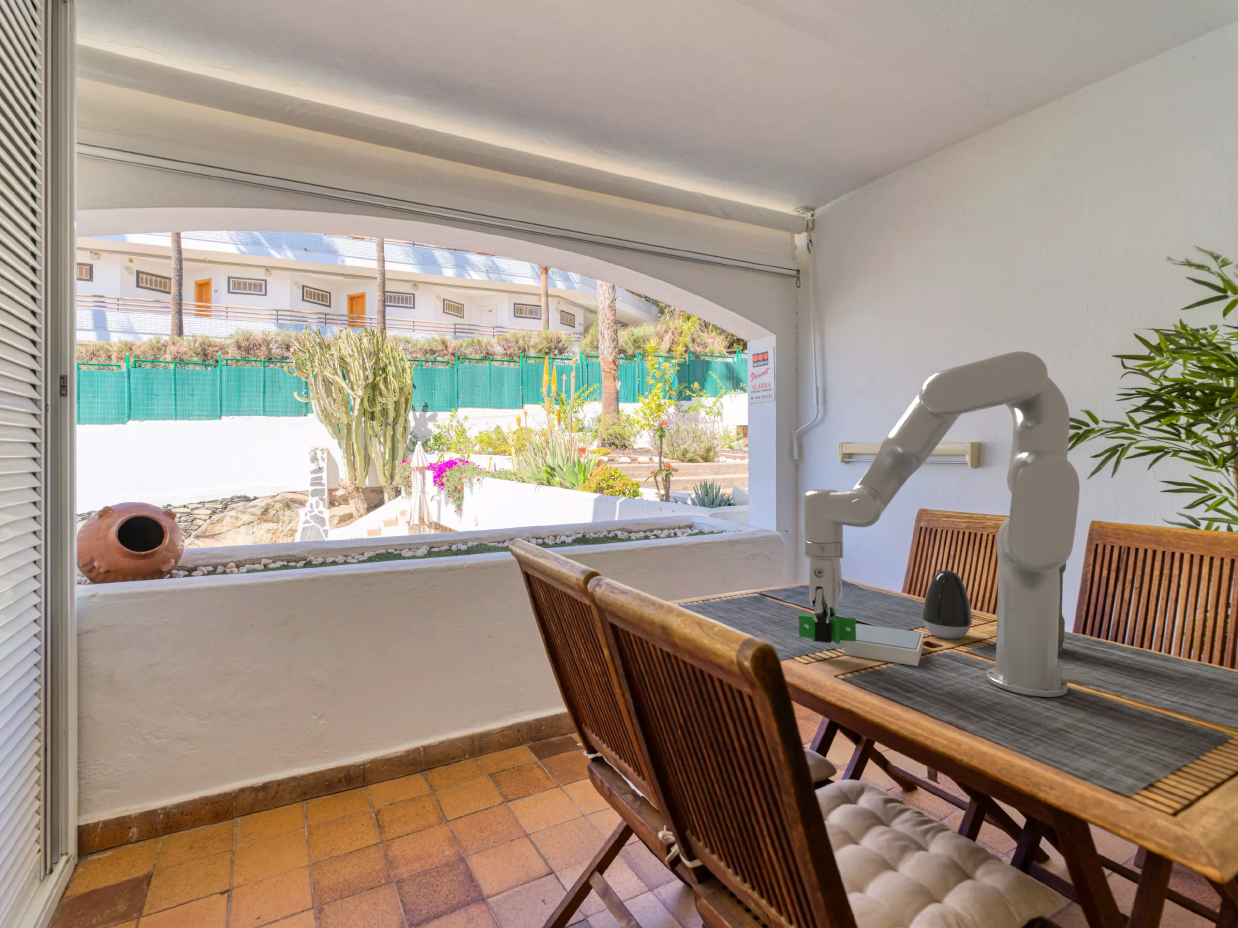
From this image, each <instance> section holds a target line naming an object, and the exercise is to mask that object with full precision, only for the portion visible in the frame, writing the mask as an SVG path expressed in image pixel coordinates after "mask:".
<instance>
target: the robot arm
mask: <svg viewBox="0 0 1238 928" xmlns="http://www.w3.org/2000/svg"><path fill="white" fill-rule="evenodd" d="M1056 384H1057V383H1055V382H1054V381H1053V379H1051V378H1050V377H1049V372H1048V367H1047V365H1046V363H1045V362H1044V360H1043V359H1041V357H1039V356H1038V355H1036V354H1035V353H1031V352H1029V351H1023V350H1022V351H1012V352H1011V351H1010V352H1007V353H1003V354H999V355H997V356H996V355H995V356H992V357H989V358H985V359H981V360H977V361H975V362H971V363H967V364H962V365H959V366H954V367H951V368H946V369H942V370H939V371H936V372H934V373H932V374H930V375H929V376H928V377H927V379H926V380H924V382H923V384H922V386H921V388H920V389H919V391H918V392H917V393H916V395H915V396H914V398H913V399H912V400H911V402H910V404H909V405H908V407H907V408H906V409H905V411H903V413H902V414H901V416H900V417H899V418H898V420H897V421H896V423H895V424H894V425H893V427H892V428H891V430H890V431H889V432H888V434H887V435H886V436H885V438H884V439H883V441H882V443H881V445H880V447H879V451H878V452H877V454H876V456H875V457H874V459H873V461H872V462H871V464H870V465H869V467H868V468H867V469H866V470H865V472H864V473H863V475H862V477H860V479H859V480H858V482H857V483H856V484H855V486H854V487H853V488H852V489H851V490H846V491H838V490H836V489H829V488H827V489H824V488H822V489H810V490H807V491H806V492H805V493H804V495H803V528H804V557H805V558H807V559H809V579H808V580H809V581H808V582H809V584H808V585H809V591H808V592H809V603H810V606H812V607H813V608H814V616H815V641H817V642H819V643H827V644H830V643H832V642H833V641H832V625H831V623H830V617H837V616H836V615H837V614H836V613H837V612H836V608H837V607H838V606H839V605H840V603H842V601H843V598H844V594H843V582H842V579H843V578H842V577H843V576H842V566H841V559H843V558H844V534H843V533H844V530H843V527H844V526H846V527H847V526H849V527H854V528H855V527H856V528H868V527H871V526H873V525H874V524H876V523H877V522H878V521H879V520H880V518H881V516H882V514H883V513H884V511H885V510H886V508H887V507H888V505H889V504H890V503H891V502H892V500H893V499H894V497H896V495H897V493H898V492H899V491H900V490H901V488H903V486H904V484H905V483H906V482H907V480H908V479H909V478H910V477H911V476H912V475H913V474H914V473H915V472H917V471H918V470H919V469H920V468H921V467H922V466H923V465H924V463H925V462H926V461H927V460H928V459H929V457H930V456H931V454H932V453H933V452H934V451H935V449H936V447H938V445H939V444H940V442H941V441H942V440H943V438H944V437H945V435H946V434H948V432H949V430H950V429H951V428H952V426H953V425H954V424H955V422H956V421H957V420H958V419H959V417H960V416H961V415H962V414H967V413H971V412H972V413H973V412H978V411H980V410H981V411H982V410H986V409H990V408H994V407H998V406H1002V405H1003V406H1004V405H1005V406H1006V407H1007V408H1008V409H1009V410H1010V414H1011V415H1012V420H1013V427H1012V429H1013V430H1012V444H1011V450H1010V451H1011V452H1010V459H1009V466H1008V471H1007V476H1006V484H1007V487H1008V490H1009V492H1010V493H1011V497H1010V498H1011V500H1010V508H1009V516H1008V517H1007V518H1005V520H1004V521H1003V522H1002V523H1001V525H1000V527H999V528H998V532H997V539H996V549H997V601H996V602H997V604H996V607H997V608H996V636H995V637H996V640H995V642H996V645H995V650H996V651H995V667H991V668H989V669H987V670H986V672H985V678H986V680H987V681H988V682H989V683H991V684H992V685H994V686H996V687H998V688H1000V689H1002V690H1005V691H1009V692H1012V693H1016V694H1019V695H1020V694H1021V695H1025V696H1033V697H1041V698H1042V697H1043V698H1052V697H1053V698H1054V697H1061V696H1064V695H1066V694H1068V688H1069V687H1068V683H1071V684H1076V685H1078V686H1079V685H1080V686H1086V687H1090V682H1091V681H1090V680H1091V677H1090V674H1086V673H1080V671H1079V670H1075V669H1074V670H1073V669H1065V668H1064V667H1062V666H1061V665H1060V661H1059V660H1058V659H1059V658H1058V656H1059V654H1058V626H1059V603H1060V576H1059V568H1060V567H1061V566H1062V565H1064V564H1065V563H1066V564H1067V561H1068V560H1069V558H1070V557H1071V554H1072V552H1073V547H1074V541H1075V535H1076V526H1077V519H1078V512H1079V511H1078V509H1079V502H1080V501H1079V500H1080V490H1081V489H1080V487H1081V486H1080V479H1079V475H1078V474H1079V473H1078V471H1077V470H1076V468H1075V467H1074V465H1073V464H1071V462H1070V461H1068V453H1069V442H1070V439H1069V438H1070V437H1069V435H1070V411H1069V406H1068V402H1067V400H1066V398H1065V396H1064V394H1063V393H1062V391H1061V389H1060V388H1059V387H1058V385H1056ZM817 642H816V643H817Z"/></svg>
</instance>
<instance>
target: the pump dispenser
mask: <svg viewBox="0 0 1238 928" xmlns="http://www.w3.org/2000/svg"><path fill="white" fill-rule="evenodd" d="M922 607H923V608H922V614H921V618H922V620H923V623H924V624H923V625H925V626H924V627H925V628H926V630H927V631H928V632H929V633H930V634H932V635H933V636H935V638H940V639H945V640H958V639H961V638H963V637H965V636H966V635H967V634H968V632H969V630H970V628H971V626H972V625H973V616H972V608H971V603H970V600H969V595H968V593H967V589H966V587H965V585H964V582H963V581H962V578H961V577H960V575H959V574H957V572H954V571H952V570H950V569H949V570H947V569H945V570H944V569H943V570H941V569H937V570H936V574H935V575H934V577H933V578H932V580H931V582H930V584H929V587H928V589H927V592H926V595H925V598H924V602H923V605H922Z"/></svg>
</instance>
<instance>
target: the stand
mask: <svg viewBox="0 0 1238 928" xmlns="http://www.w3.org/2000/svg"><path fill="white" fill-rule="evenodd" d="M923 649H924V633H923V632H921V631H914V630H908V629H907V630H906V629H900V628H899V629H898V628H893V627H884V626H877V625H869V624H864V623H863V624H862V623H856V641H844V642H843V654H844V655H845V656H850V657H851V656H852V657H857V658H858V657H859V658H863V659H870V660H877V661H882V662H883V661H884V662H889V663H896V664H904V665H909V666H914V667H918V666H919V664H920V663H919V662H920V660H921V656H922V652H923Z"/></svg>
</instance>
